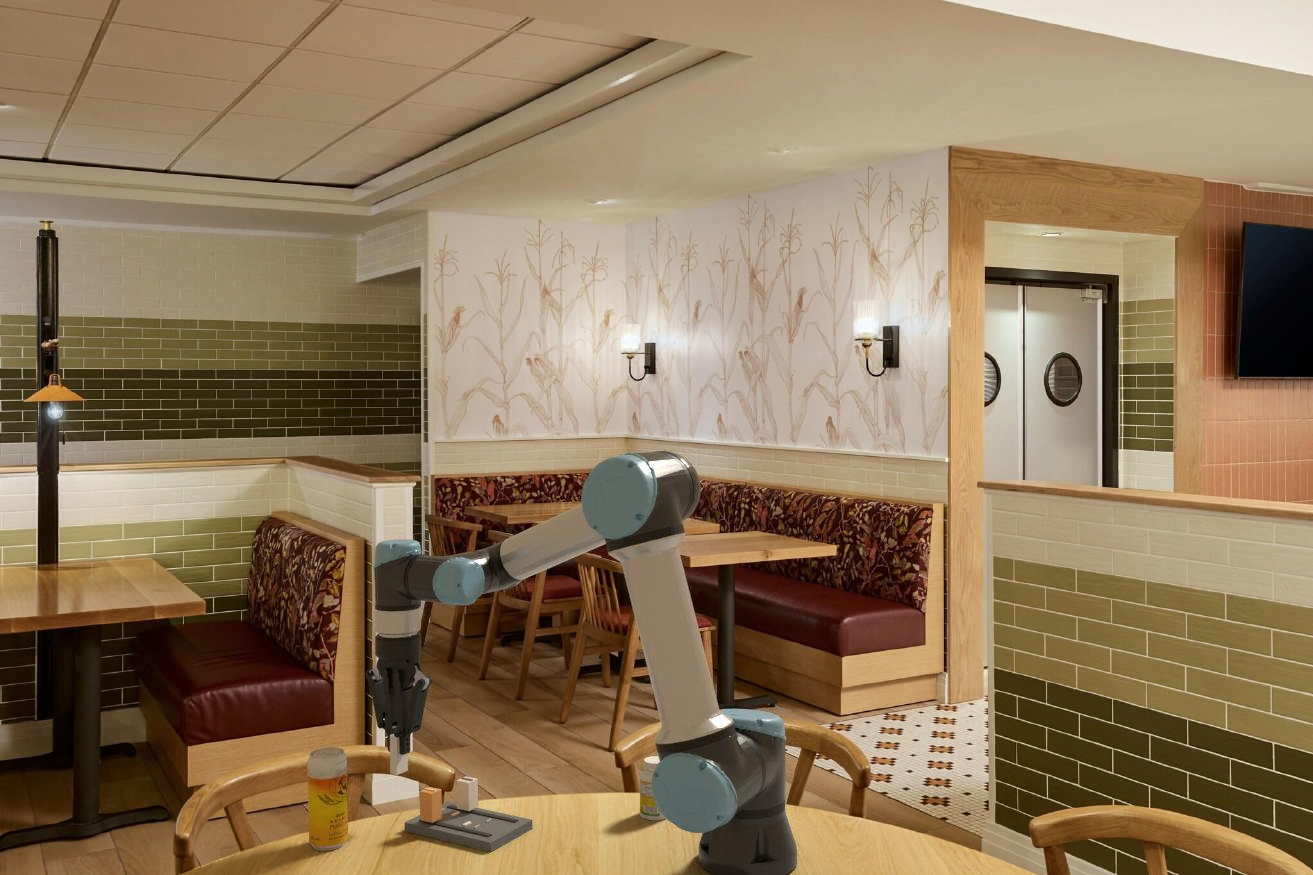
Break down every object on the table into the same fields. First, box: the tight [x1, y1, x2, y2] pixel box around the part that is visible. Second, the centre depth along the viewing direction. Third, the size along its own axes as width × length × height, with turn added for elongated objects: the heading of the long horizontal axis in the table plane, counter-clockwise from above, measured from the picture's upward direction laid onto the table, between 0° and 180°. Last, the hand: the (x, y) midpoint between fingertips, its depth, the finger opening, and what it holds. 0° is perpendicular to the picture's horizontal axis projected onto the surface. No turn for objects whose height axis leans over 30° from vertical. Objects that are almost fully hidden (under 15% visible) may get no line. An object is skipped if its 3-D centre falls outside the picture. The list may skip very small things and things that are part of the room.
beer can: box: [306, 746, 349, 852], centre depth 181 cm, size 6×6×15 cm
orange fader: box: [419, 786, 443, 823], centre depth 186 cm, size 3×2×5 cm
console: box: [404, 801, 533, 853], centre depth 187 cm, size 18×11×2 cm, turn 60°
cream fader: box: [456, 775, 479, 811], centre depth 192 cm, size 3×2×5 cm
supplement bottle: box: [639, 755, 667, 821], centre depth 193 cm, size 5×5×10 cm
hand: (399, 771), depth 190 cm, fingers closed
